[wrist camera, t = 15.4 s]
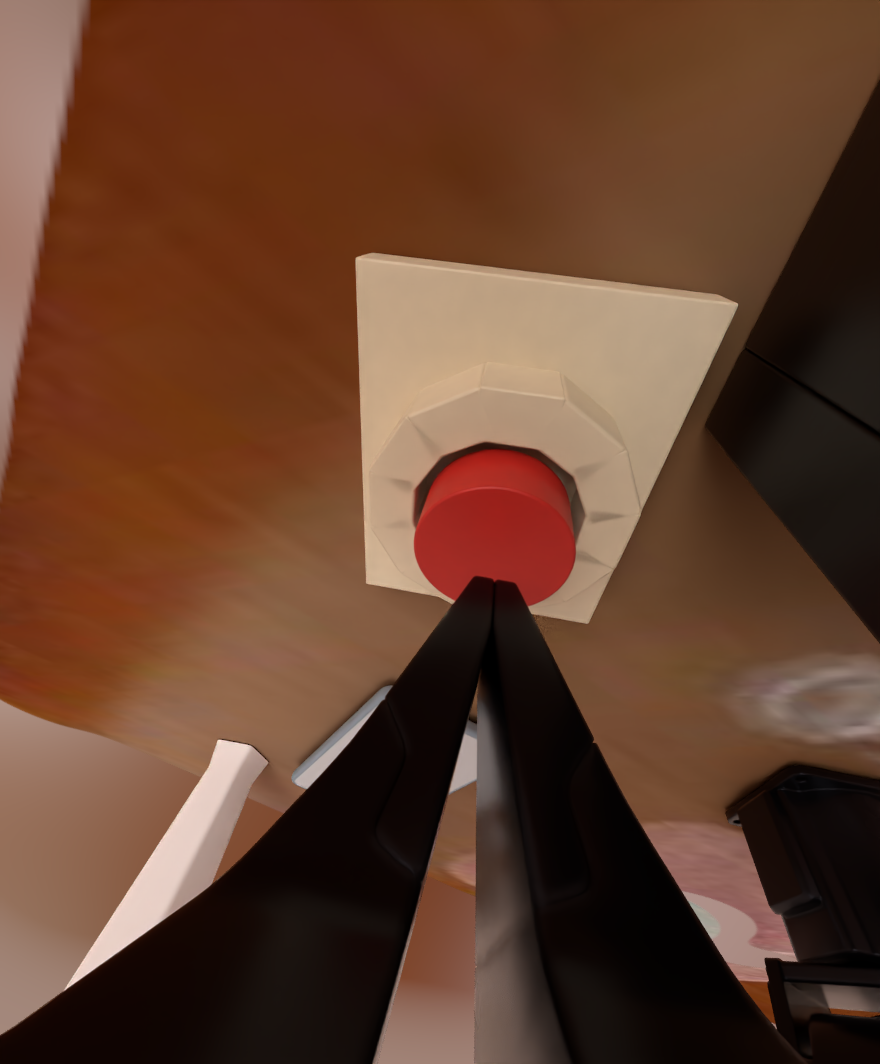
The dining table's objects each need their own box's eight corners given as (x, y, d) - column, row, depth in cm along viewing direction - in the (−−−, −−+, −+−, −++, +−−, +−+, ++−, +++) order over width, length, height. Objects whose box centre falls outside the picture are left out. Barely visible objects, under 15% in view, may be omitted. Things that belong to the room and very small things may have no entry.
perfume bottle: (221, 762, 32) (39, 1090, 20) (202, 733, 29) (-21, 1094, 17) (278, 774, 31) (127, 1118, 19) (264, 745, 28) (79, 1126, 17)
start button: (432, 436, 10) (416, 473, 8) (588, 460, 9) (599, 503, 8) (423, 552, 12) (409, 597, 11) (549, 575, 12) (552, 623, 10)
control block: (370, 252, 10) (322, 265, 8) (719, 294, 9) (783, 322, 7) (375, 562, 16) (349, 622, 14) (584, 599, 16) (595, 668, 13)
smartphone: (523, 759, 22) (392, 825, 30) (524, 740, 23) (395, 810, 31) (384, 691, 20) (286, 782, 29) (389, 674, 21) (292, 767, 29)
